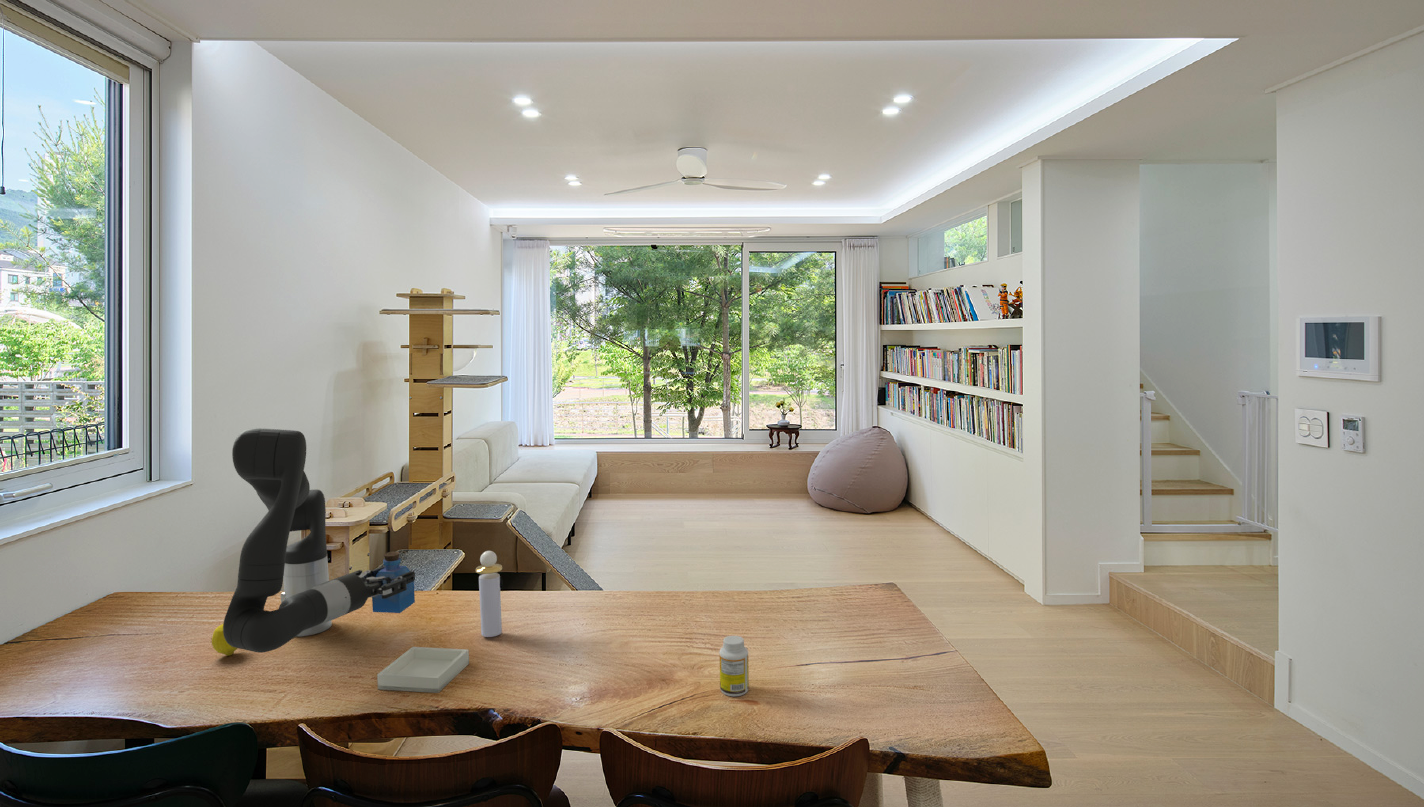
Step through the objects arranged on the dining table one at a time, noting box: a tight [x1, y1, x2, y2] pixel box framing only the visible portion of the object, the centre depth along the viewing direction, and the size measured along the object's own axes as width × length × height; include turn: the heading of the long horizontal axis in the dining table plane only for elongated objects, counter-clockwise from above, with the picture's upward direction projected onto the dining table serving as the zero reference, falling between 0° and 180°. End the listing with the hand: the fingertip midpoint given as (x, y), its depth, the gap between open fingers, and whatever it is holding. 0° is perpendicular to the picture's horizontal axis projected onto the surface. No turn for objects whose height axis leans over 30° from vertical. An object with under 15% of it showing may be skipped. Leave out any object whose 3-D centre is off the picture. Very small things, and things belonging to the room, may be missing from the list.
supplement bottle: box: [718, 635, 750, 698], centre depth 137 cm, size 6×6×10 cm
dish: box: [376, 646, 470, 694], centre depth 145 cm, size 13×13×3 cm
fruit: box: [211, 623, 238, 656], centre depth 155 cm, size 6×6×8 cm
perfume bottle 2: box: [475, 550, 504, 638], centre depth 163 cm, size 6×6×20 cm
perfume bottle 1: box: [371, 551, 416, 614], centre depth 156 cm, size 6×6×12 cm
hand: (399, 573), depth 158 cm, fingers closed on perfume bottle 1, 7 cm apart
